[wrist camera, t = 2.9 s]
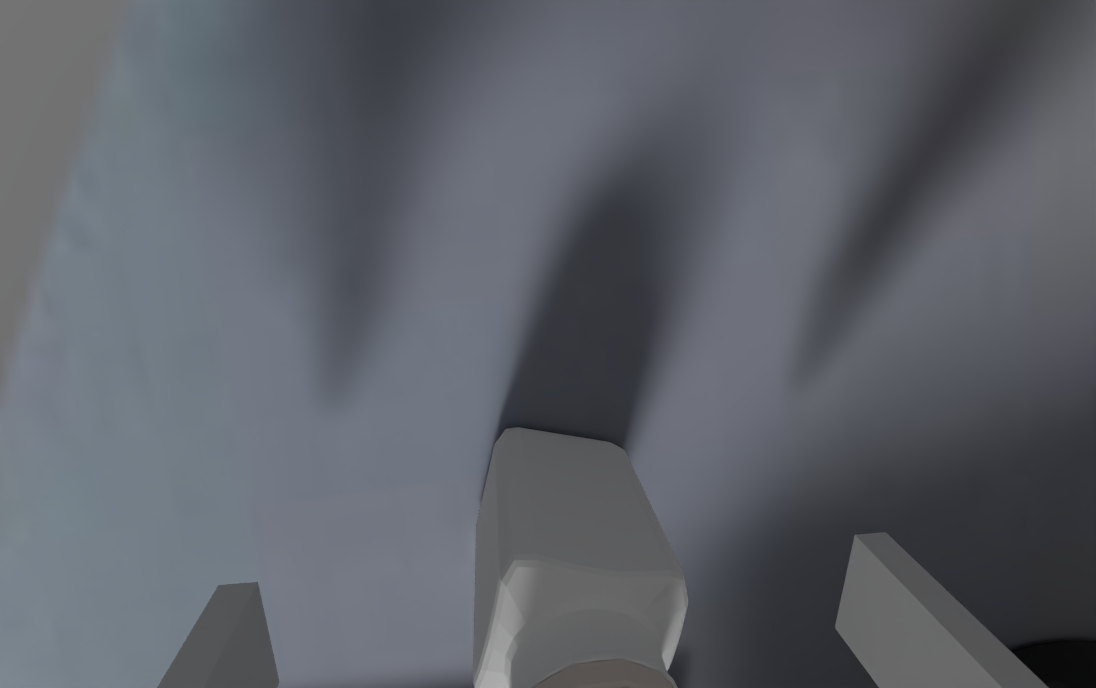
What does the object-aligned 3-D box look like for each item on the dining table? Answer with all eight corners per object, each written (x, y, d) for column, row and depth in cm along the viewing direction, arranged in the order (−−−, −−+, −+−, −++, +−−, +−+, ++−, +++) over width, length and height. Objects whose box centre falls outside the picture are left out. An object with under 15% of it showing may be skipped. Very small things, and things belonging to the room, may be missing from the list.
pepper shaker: (627, 436, 17) (786, 750, 8) (594, 545, 18) (700, 924, 9) (498, 415, 16) (516, 733, 7) (472, 529, 18) (461, 922, 9)
